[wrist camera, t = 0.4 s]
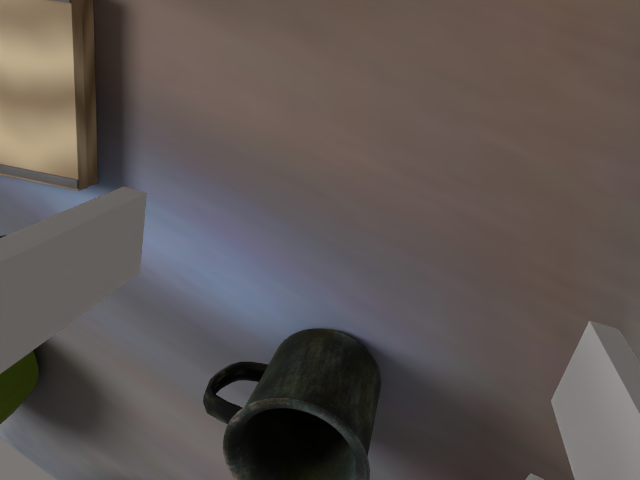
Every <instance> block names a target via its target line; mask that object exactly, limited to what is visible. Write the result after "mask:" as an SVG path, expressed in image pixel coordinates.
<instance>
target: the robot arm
mask: <svg viewBox="0 0 640 480" xmlns="http://www.w3.org/2000/svg"><path fill="white" fill-rule="evenodd" d="M146 195H147V193H145V192H142V191H138V190H135V189H131V188H128V187H124V186H123V187H121V188H119V189H116V190H114V191H112V192H109V193H107V194H104V195H102V196H100V197H97V198H95V199H92V200H90V201H88V202H85V203H83V204H80V205H78V206H76V207H73V208H71V209H69V210H66V211H64V212H61V213H59V214H57V215H54V216H52V217H49V218H47V219H45V220H42V221H40V222H37V223H35V224H33V225H30V226H28V227H26V228H23V229H21V230H18V231H16V232H14V233H11V234H9V235H4V236H0V374H1V373H2V372H4V371H5V370H6V369H8V368H9V367H11V366H12V365H13V364H15V363H16V362H18V361H19V360H20V359H22V358H23V357H24V356H26V355H27V354H29V353H30V352H31V351H33V350H34V349H35V348H37V347H38V346H40V345H41V344H42V343H44V342H45V341H47V340H48V339H49V338H51V337H52V336H53V335H55V334H56V333H58V332H59V331H60V330H62V329H63V328H64V327H66V326H67V325H69V324H70V323H71V322H73V321H74V320H75V319H77V318H78V317H80V316H81V315H82V314H84V313H85V312H87V311H88V310H89V309H91V308H92V307H93V306H95V305H96V304H98V303H99V302H100V301H102V300H103V299H104V298H106V297H107V296H109V295H110V294H111V293H113V292H114V291H116V290H117V289H118V288H120V287H121V286H122V285H124V284H125V283H127V282H128V281H129V280H131V279H132V278H133V277H135V276H136V275H138V274H139V273H140V265H141V254H142V242H143V230H144V218H145V207H146ZM551 403H552V406H553V410H554V413H555V416H556V420H557V423H558V426H559V429H560V433H561V436H562V439H563V443H564V446H565V449H566V452H567V456H568V459H569V462H570V466H571V469H572V472H573V475H574V479H575V480H640V362H639V361H638V359H637V358H636V356H635V354H634V353H633V351H632V350H631V348H630V346H629V345H628V343H627V342H626V340H625V338H624V337H623V335H622V334H621V332H620V330H619V329H616V328H612V327H609V326H605V325H602V324H599V323H595V322H592V321H589V323H588V325H587V327H586V329H585V331H584V333H583V335H582V338H581V340H580V342H579V344H578V346H577V348H576V350H575V352H574V354H573V356H572V358H571V360H570V362H569V364H568V367H567V369H566V371H565V373H564V375H563V377H562V379H561V381H560V383H559V385H558V387H557V389H556V391H555V393H554V396H553V398H552V400H551Z"/></svg>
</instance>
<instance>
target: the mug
mask: <svg viewBox="0 0 640 480" xmlns="http://www.w3.org/2000/svg"><path fill="white" fill-rule="evenodd" d="M238 380H249V381H257V382H259V383H258V384H257V386H256V388H255V390H254V392H253V393H252V395H251V397H250V399H249V400H248V402H247V404H246V406H245V407H244V408H242V407H240V406H237V405H235V404H232V403H230V402H227V401H226V400H224V399H222V398H221V397H219V396H217V395H216V393H217V392H218V391H219V390H220V389H221V388H223V387H225V386H226V385H228V384H230V383H232V382H235V381H238ZM380 387H381V379H380V373H379V369H378V366H377V364H376V362H375V360H374V359H373V357H372V356H371V354H370V353H369V352H368V351H367V350H366V349H365V348H364V347H363V346H362V345H361V344H360V343H358V342H357V341H356V340H354V339H353V338H351V337H349V336H348V335H345V334H343V333H341V332H338V331H334V330H329V329H307V330H303V331H300V332H297V333H295V334H293V335H291V336H289V337H288V338H287V339H286V340H284V341H283V343H282V344H281V345H280V346H279V348H278V349H277V351H276V353H275V355H274V356H273V358H272V360H271V362H270V363H269V365H267V364H262V363H256V362H238V363H235V364H231V365H229V366H227V367H225V368H224V369H222V370H220V371H219V372H218V373H217V374H216V375H215V376H213V377H212V378H211V379H210V381H209V384H208V386H207V389H206V391H205V394H204V399H203V404H204V406H205V409H206V411H207V413H208V414H210V415H211V416H213V417H215V418H216V419H218V420H219V421H221V422H224V423H226V424H228V425H227V428H226V431H225V434H224V440H223V453H224V457H225V461H226V464H227V467H228V469H229V471H230V473H231V475H232V476H233V478H234V479H235V480H369V477H370V468H369V461H368V457H367V456H368V451H369V445H370V440H371V435H372V430H373V424H374V419H375V414H376V409H377V403H378V398H379V393H380Z"/></svg>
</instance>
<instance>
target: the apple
mask: <svg viewBox="0 0 640 480" xmlns="http://www.w3.org/2000/svg"><path fill="white" fill-rule="evenodd" d="M38 373H39V369H38V365H37V361H36V358H35V354H34V352H33V351H31V352H30V353H29V354H27V355H26V356H24V357H23V358H22V359H20V360H19V361H18V362H16V363H15V364H13V365H12V366H11V367H9V368H8V369H6V370H5V371H4V372H2V373H1V374H0V424H1V423H2V422H3V421H4V420H6V419H7V418H8V417H9V416H10V415H11V414H12V413H13V412H14V411H15V410H16V409H17V408H18V407H19V406H20V404H21V403H22V402H23V401H24V400H25V399H26V398H27V397H28V395H29V394H30V393H31V392H32V390H33V389H34V388H35V386H36V385H37V380H38Z"/></svg>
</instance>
